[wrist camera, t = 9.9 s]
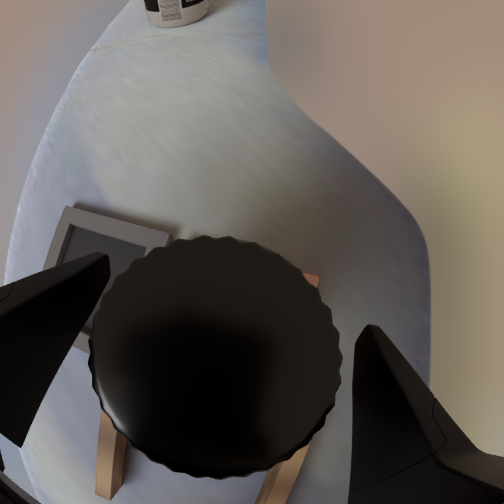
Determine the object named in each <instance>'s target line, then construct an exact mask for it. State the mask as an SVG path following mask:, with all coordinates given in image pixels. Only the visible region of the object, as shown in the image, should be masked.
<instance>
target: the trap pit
mask: <svg viewBox="0 0 504 504" xmlns="http://www.w3.org/2000/svg"><path fill="white" fill-rule="evenodd" d="M171 240H172V236H171V234H170V233H167V232H163V231H159V230H155V229H152V228H148V227H144V226H140V225H137V224H133V223H129V222H125V221H121V220H118V219H114V218H110V217H106V216H103V215H99V214H95V213H91V212H88V211H84V210H80V209H77V208H73V207H69V206H65V208H64V210H63V213H62V215H61V218H60V220H59V223H58V226H57V228H56V231H55V234H54V237H53V240H52V242H51V245H50V248H49V251H48V255H47V258H46V261H45V264H44V268H43V271H44V270H46V269H49V268H52V267H54V266H57V265H60V264H63V263H65V262H68V261H71V260H74V259H77V258H80V257H83V256H85V255H88V254H91V253H94V252H97V251H100V252H103V253H106V254H108V255H109V258H110V269H111V277H110V280H109V282H108V284H107V285H106V287H105V289H104V291H103V293H102V295H103V294H104V293H105V292H107V291H108V290H109V289H110V288H111V287H112V284H113V281H114V279H115V277H116V276H117V275H119V274H120V273H123V272H125V271H126V270H127V269H128V267H129V266H130V264H131V263H132V261H133V260H135V259H138V258H143V257H145V256H146V255H147V254H148V253H149V252H150V251H151V250H152V249H153V248H155V247H160V246H162V247H166V246H168V245H170V243H171ZM102 295H101V297H100V299H99V301H98V303H97V305H96V307H95V308H94V310H93V312H92V314H91V315H90V317H89V319H88V320H87V322H86V323H85V325H84V327H83V328H82V330H81V332H80V333H79V335H78V336H77V338H76V340H75V341H74V343H73V345H72V346H74V347H76V348H78V349H80V350H82V351H84V352H86V353H88V354H90V349H89V344H88V339H89V336H90V334H91V333H92V330H93V326H92V322H93V316H94V315H95V313H96V312H97V311H98V310H99V308H100V302H101V298H102Z"/></svg>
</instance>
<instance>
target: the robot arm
mask: <svg viewBox="0 0 504 504" xmlns="http://www.w3.org/2000/svg"><path fill="white" fill-rule="evenodd" d="M110 277H111V269H110V258H109V255H108V254H106V253H103V252H100V251H97V252H94V253H91V254H88V255H85V256H83V257H80V258H77V259H74V260H71V261H68V262H65V263H63V264H60V265H57V266H54V267H52V268H49V269H46V270H44V271H41V272H38V273H36V274H33V275H30V276H28V277H25V278H23V279H20V280H18V281H16V282H12V283H10V284H7V285H5V286H3V287H0V433H1V434H2V435H4V436H5V437H6V438H7V439H9V440H10V441H11V442H13V443H14V444H16V445H17V446H18V447H20V448H21V447H22V445H23V443H24V441H25V438H26V436H27V433H28V431H29V429H30V426H31V424H32V422H33V420H34V418H35V415H36V413H37V411H38V409H39V407H40V405H41V402H42V400H43V398H44V396H45V394H46V392H47V390H48V388H49V386H50V384H51V383H52V381H53V379H54V377H55V375H56V373H57V371H58V369H59V368H60V366H61V364H62V362H63V360H64V359H65V357H66V355H67V353H68V352H69V350H70V348H71V347H72V345H73V343H74V341H75V340H76V338H77V336H78V335H79V333H80V332H81V330H82V328H83V327H84V325H85V323H86V322H87V320H88V319H89V317H90V315H91V314H92V312H93V310H94V308H95V307H96V305H97V303H98V301H99V299H100V297H101V295H102V293H103V291H104V289H105V287H106V285H107V284H108V282H109V280H110ZM352 407H353V420H352V457H351V474H350V486H349V496H348V504H504V457H500V456H496V455H491V454H487V453H485V452H482V451H481V450H479V449H478V448H476V446H475V445H474V444H473V443H472V442H471V441H470V439H469V438H468V437H467V436H466V435H465V434H464V432H463V431H462V430H461V429H460V428H459V427H458V425H457V424H456V423H455V422H454V421H453V419H452V418H451V417H450V416H449V415H448V413H447V412H446V411H445V409H444V408H443V407H442V406H441V404H440V403H439V402H438V400H437V399H436V398H434V395H433V393H432V392H431V391H430V389H429V388H428V387H427V386H426V384H425V383H424V382H423V380H422V379H421V378H420V376H419V375H418V374H417V373H416V371H415V370H414V369H413V368H412V366H411V365H410V364H409V363H408V361H407V360H406V359H405V358H404V356H403V355H402V354H401V353H400V351H399V350H398V349H397V348H396V346H395V345H394V344H393V343H392V341H391V340H390V339H389V338H388V337H387V335H386V334H385V333H384V332H383V331H382V329H381V328H380V327H379V326H376V325H371V324H368V325H367V326H366V327H365V328H364V330H363V331H362V333H361V334H360V336H359V337H358V339H357V340H356V343H355V351H354V367H353V380H352ZM4 469H5V467H4V463H3V459H2V455H1V451H0V504H41V503H40V502H38V501H37V500H36V499H34V498H33V497H32V496H30V495H29V494H28V493H26V492H25V491H24V490H23V489H21V488H20V487H19V486H18V485H17V484H15V483H14V482H13V481H12V480H11V479H9V478H8V477H7V476H6V475H5V474H4V473H3V471H4Z"/></svg>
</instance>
